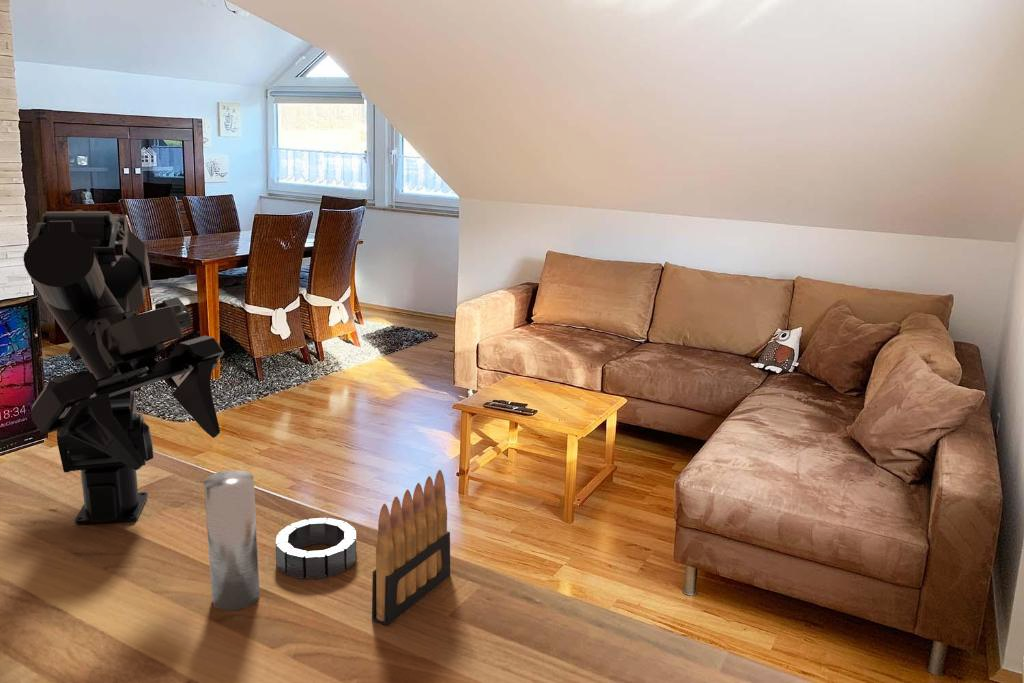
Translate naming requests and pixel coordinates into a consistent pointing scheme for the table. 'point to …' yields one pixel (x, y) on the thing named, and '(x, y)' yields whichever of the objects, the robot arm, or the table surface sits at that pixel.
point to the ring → (316, 561)
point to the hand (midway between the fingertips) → (180, 450)
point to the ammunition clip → (410, 550)
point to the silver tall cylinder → (232, 539)
